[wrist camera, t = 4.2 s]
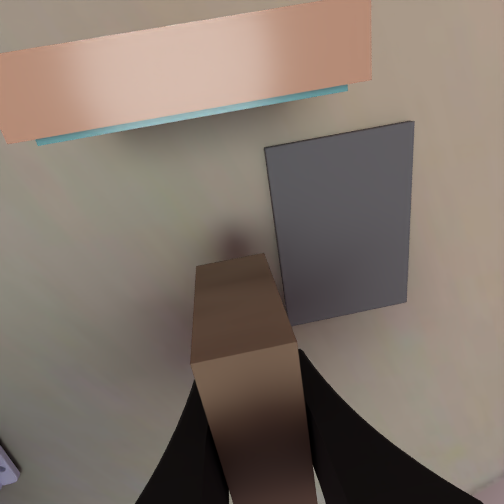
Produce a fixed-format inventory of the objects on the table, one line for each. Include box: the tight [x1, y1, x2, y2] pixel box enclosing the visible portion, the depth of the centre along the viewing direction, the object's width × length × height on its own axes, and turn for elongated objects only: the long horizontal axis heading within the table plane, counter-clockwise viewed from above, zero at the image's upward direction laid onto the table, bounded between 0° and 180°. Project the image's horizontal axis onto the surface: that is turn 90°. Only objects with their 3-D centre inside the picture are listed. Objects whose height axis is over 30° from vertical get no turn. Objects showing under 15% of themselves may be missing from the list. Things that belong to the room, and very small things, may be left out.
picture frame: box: [0, 0, 372, 146], centre depth 11 cm, size 2×8×8 cm, turn 99°
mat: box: [264, 121, 415, 326], centre depth 18 cm, size 10×7×1 cm
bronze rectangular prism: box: [190, 253, 317, 504], centre depth 12 cm, size 8×2×5 cm, turn 9°
